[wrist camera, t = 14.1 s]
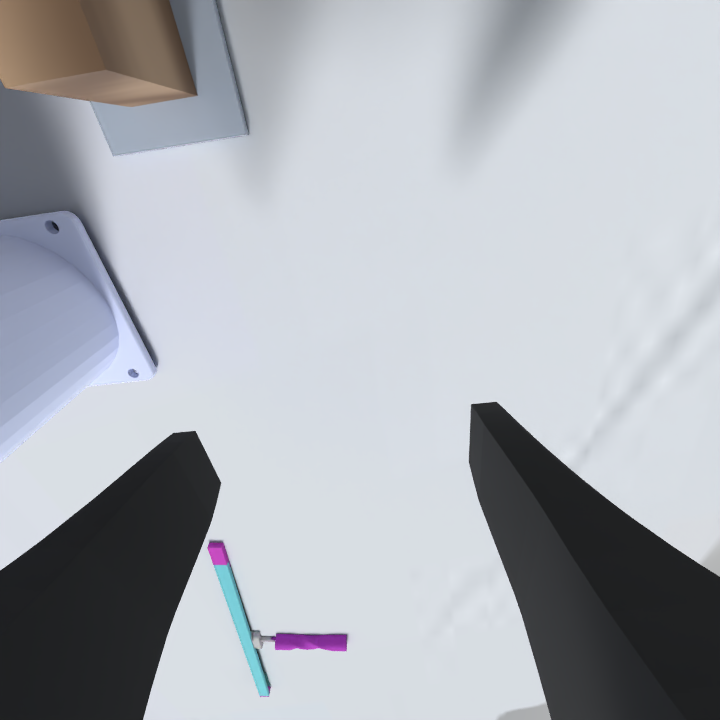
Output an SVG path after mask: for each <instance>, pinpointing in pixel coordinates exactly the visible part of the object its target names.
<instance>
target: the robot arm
mask: <svg viewBox="0 0 720 720" xmlns="http://www.w3.org/2000/svg"><path fill="white" fill-rule="evenodd" d="M52 221H53V222H55V223H56V224H57V226H58V228H59V231H57V230H56V229H55V228H54V227H53V224H52ZM133 369H134V370H136V371H137V372H138V373H136V372H134V371H133ZM156 372H157V370H156V367H155V365H154V363H153V361H152V359H151V357H150V355H149V353H148V351H147V349H146V347H145V345H144V343H143V342H142V340H141V338H140V336H139V334H138V332H137V330H136V328H135V326H134V324H133V322H132V320H131V318H130V316H129V314H128V312H127V310H126V308H125V306H124V304H123V302H122V301H121V299H120V297H119V295H118V293H117V291H116V289H115V287H114V285H113V283H112V281H111V279H110V277H109V275H108V273H107V271H106V269H105V267H104V265H103V263H102V261H101V260H100V258H99V256H98V254H97V252H96V250H95V248H94V246H93V244H92V242H91V240H90V238H89V236H88V234H87V232H86V230H85V228H84V226H83V224H82V222H81V221H80V220H79V218H78V217H77V216H76V215H75V214H73V213H71V212H69V211H57V212H51V213H44V214H37V215H31V216H24V217H17V218H11V219H4V220H0V463H1V462H2V461H3V460H4V459H6V458H7V457H8V456H9V455H10V454H11V453H12V452H14V451H15V450H16V449H17V448H18V447H19V446H20V445H21V444H23V443H24V442H25V441H26V440H27V439H28V438H29V437H31V436H32V435H33V434H34V433H35V432H36V431H37V430H38V429H40V428H41V427H42V426H43V425H44V424H45V423H46V422H48V421H49V420H50V419H51V418H52V417H53V416H54V415H55V414H57V413H58V412H59V411H60V410H61V409H62V408H63V407H65V406H66V405H67V404H68V403H69V402H70V401H71V400H73V399H74V398H75V397H76V396H77V395H78V394H79V393H80V392H82V391H83V390H84V389H85V388H86V387H89V386H98V385H107V384H116V383H126V382H135V381H144V380H150V379H152V378H153V377H154V375H155V374H156ZM469 464H470V468H471V472H472V476H473V480H474V484H475V488H476V491H477V495H478V499H479V502H480V505H481V507H482V510H483V513H484V515H485V518H486V521H487V523H488V526H489V529H490V531H491V534H492V536H493V539H494V542H495V544H496V547H497V550H498V552H499V555H500V557H501V560H502V563H503V565H504V568H505V570H506V573H507V576H508V578H509V581H510V583H511V586H512V589H513V591H514V594H515V597H516V600H517V603H518V606H519V609H520V612H521V615H522V618H523V621H524V624H525V628H526V631H527V635H528V638H529V642H530V645H531V649H532V652H533V656H534V659H535V662H536V666H537V669H538V673H539V677H540V680H541V684H542V687H543V691H544V695H545V698H546V702H547V705H548V709H549V713H550V716H551V720H720V577H719V576H717V575H716V574H714V573H713V572H711V571H710V570H708V569H706V568H705V567H703V566H702V565H700V564H698V563H697V562H695V561H694V560H692V559H691V558H689V557H688V556H686V555H685V554H683V553H682V552H680V551H679V550H677V549H676V548H674V547H673V546H671V545H670V544H668V543H667V542H666V541H664V540H663V539H661V538H660V537H658V536H657V535H656V534H654V533H653V532H651V531H650V530H648V529H647V528H646V527H644V526H643V525H641V524H640V523H638V522H637V521H636V520H634V519H633V518H631V517H630V516H629V515H627V514H626V513H625V512H623V511H622V510H621V509H619V508H618V507H617V506H615V505H614V504H613V503H612V502H610V501H609V500H608V499H606V498H605V497H604V496H603V495H601V494H600V493H599V492H598V491H596V490H595V489H594V488H592V487H591V486H590V485H589V484H587V483H586V482H585V481H584V480H583V479H581V478H580V477H579V476H578V475H577V474H575V473H574V472H573V471H572V470H571V469H569V468H568V467H567V466H566V465H565V464H564V463H562V462H561V461H560V460H559V459H558V458H557V457H556V456H554V455H553V454H552V453H551V452H550V451H549V450H547V449H546V448H545V447H544V446H543V445H542V444H541V443H540V442H539V441H538V440H536V439H535V438H534V437H533V436H532V435H531V434H530V433H529V432H528V431H527V430H526V429H525V428H524V427H522V426H521V425H520V424H519V423H518V422H517V421H516V420H515V419H514V418H513V417H512V416H511V415H510V414H509V413H508V412H507V411H506V410H505V409H504V408H503V407H502V406H500V405H499V404H498V403H497V402H490V403H480V404H471V423H470V448H469ZM220 486H221V482H220V480H219V478H218V476H217V474H216V472H215V470H214V468H213V466H212V463H211V461H210V459H209V457H208V455H207V453H206V451H205V449H204V447H203V445H202V443H201V441H200V439H199V437H198V435H197V433H196V431H190V432H180V433H173V434H172V435H170V436H169V437H168V438H166V439H165V440H164V441H162V442H161V443H160V444H159V445H157V446H156V447H155V448H154V449H152V450H151V451H150V452H149V453H148V454H146V455H145V456H144V457H143V458H142V459H140V460H139V461H138V462H137V463H136V464H135V465H133V466H132V467H131V468H130V469H129V470H127V471H126V472H125V473H124V474H123V475H122V476H120V477H119V478H118V479H117V480H116V481H114V482H113V483H112V484H111V485H110V486H108V487H107V488H106V489H105V490H104V491H103V492H101V493H100V494H99V495H98V496H97V497H95V498H94V499H93V500H92V501H91V502H89V503H88V504H87V505H85V506H84V507H83V508H82V509H80V510H79V511H78V512H77V513H75V514H74V515H73V516H72V517H70V518H69V519H68V520H67V521H65V522H64V523H63V524H62V525H60V526H59V527H58V528H57V529H55V530H54V531H53V532H52V533H50V534H49V535H48V536H47V537H45V538H44V539H43V540H41V541H40V542H39V543H37V544H36V545H35V546H33V547H32V548H31V549H29V550H28V551H27V552H25V553H24V554H23V555H21V556H20V557H19V558H17V559H16V560H15V561H13V562H12V563H10V564H9V565H7V566H6V567H5V568H3V569H2V570H0V720H143V717H144V714H145V710H146V706H147V703H148V699H149V695H150V692H151V688H152V684H153V681H154V678H155V674H156V671H157V668H158V664H159V661H160V658H161V654H162V651H163V648H164V644H165V641H166V638H167V635H168V632H169V629H170V626H171V623H172V621H173V618H174V615H175V612H176V610H177V607H178V605H179V602H180V600H181V597H182V595H183V592H184V590H185V587H186V585H187V582H188V580H189V577H190V575H191V572H192V570H193V567H194V565H195V562H196V560H197V557H198V555H199V552H200V550H201V547H202V544H203V542H204V539H205V537H206V534H207V532H208V529H209V526H210V524H211V521H212V517H213V514H214V510H215V506H216V503H217V498H218V494H219V490H220Z"/></svg>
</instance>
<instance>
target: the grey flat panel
mask: <svg viewBox="0 0 720 720" xmlns="http://www.w3.org/2000/svg"><path fill="white" fill-rule="evenodd" d="M169 1H170V5H171V8H172V11H173V15H174V18H175V21H176V25H177V28H178V31H179V35H180V38H181V41H182V45H183V48H184V52H185V55H186V58H187V62H188V65H189V68H190V72H191V75H192V78H193V82H194V85H195V88H196V92H197V95H198V96H194V97H188V98H182V99H176V100H170V101H164V102H159V103H153V104H147V105H141V106H135V107H126V106H119V105H113V104H106V103H100V102H93V101H90V103H91V106H92V108H93V110H94V113H95V115H96V117H97V120H98V122H99V124H100V127H101V129H102V131H103V134H104V136H105V138H106V141H107V143H108V145H109V148H110V150H111V152H112V155H113V156H121V155H127V154H134V153H140V152H146V151H152V150H158V149H165V148H171V147H177V146H183V145H190V144H196V143H202V142H208V141H215V140H221V139H227V138H233V137H240V136H246V135H249V133H248V129H247V125H246V121H245V117H244V113H243V109H242V105H241V101H240V97H239V93H238V89H237V85H236V81H235V77H234V73H233V69H232V65H231V61H230V57H229V53H228V49H227V45H226V41H225V37H224V33H223V29H222V25H221V21H220V17H219V13H218V9H217V4H216V0H169Z"/></svg>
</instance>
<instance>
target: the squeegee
mask: <svg viewBox="0 0 720 720" xmlns="http://www.w3.org/2000/svg"><path fill="white" fill-rule="evenodd" d="M207 548H208V551H209V553H210V556H211V559H212V562H213V565H214V568H215V570H216V573H217V576H218V579H219V582H220V585H221V587H222V590H223V593H224V596H225V599H226V602H227V604H228V607H229V610H230V613H231V616H232V619H233V621H234V624H235V627H236V630H237V633H238V636H239V638H240V641H241V644H242V647H243V650H244V653H245V655H246V658H247V661H248V664H249V667H250V670H251V672H252V675H253V678H254V681H255V684H256V687H257V689H258V692H259V695H260V697H269V694H270V688H271V687H270V684H268V683H269V680H268V681H267V679H268V677H267V678H265V677H266V676H267V674H266V675H264V673H263V670H262V667H261V664H260V661H259V657H258V654H257V651H256V649H262V646H263V642H275V650H292V649H295V648H299V649H306V650H309V649H316V648H321V649H325V650H330V651H346V650H347V642H346V639H347V635H294V634H276V637H274V638H271V637H261V635H260V632H259V631H250V629H249V625H248V622H247V619H246V616H245V613H244V609H243V606H242V603H241V600H240V597H239V593H238V590H237V587H236V584H235V581H234V577H233V574H232V571H231V568H230V567H231V565H230V562H229V559H228V556H227V553H226V550H225V547H224V544H223V543H209V545H208V547H207ZM265 673H266V672H265Z"/></svg>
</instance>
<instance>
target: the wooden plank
mask: <svg viewBox="0 0 720 720" xmlns="http://www.w3.org/2000/svg"><path fill="white" fill-rule="evenodd" d="M0 79H1V81H2V83H3V85H4V87H5V88H8V89H15V90H21V91H28V92H34V93H41V94H48V95H54V96H61V97H67V98H74V99H80V100H87V101H93V102H100V103H106V104H113V105H119V106H126V107H135V106H141V105H147V104H153V103H159V102H164V101H170V100H176V99H182V98H188V97H194V96H198V95H197V92H196V88H195V85H194V82H193V78H192V75H191V72H190V68H189V65H188V62H187V58H186V55H185V52H184V48H183V45H182V41H181V38H180V35H179V31H178V28H177V25H176V21H175V18H174V15H173V11H172V8H171V5H170V1H169V0H0Z"/></svg>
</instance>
